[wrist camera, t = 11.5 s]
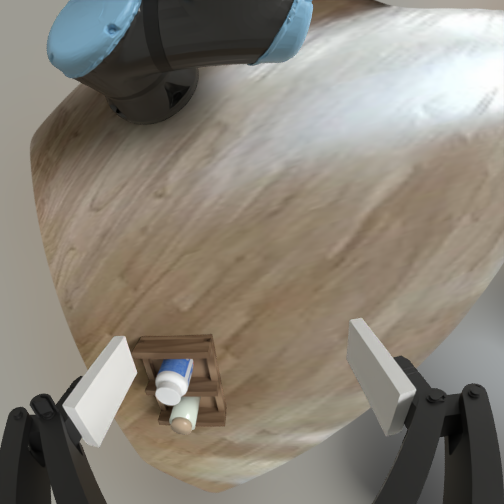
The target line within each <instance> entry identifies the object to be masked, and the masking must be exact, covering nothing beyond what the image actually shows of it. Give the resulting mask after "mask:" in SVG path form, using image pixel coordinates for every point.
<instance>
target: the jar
mask: <svg viewBox="0 0 504 504" xmlns="http://www.w3.org/2000/svg"><path fill="white" fill-rule="evenodd" d="M200 399H201V397H181V400H180V402H179V403H178V404H176V405H174V406H173V409H172V413H171V416H170V419H169V422H170V424H171V429H172V430H173V431H174V432H176V433H178V434H183V435H185V434H189V433H190V432H191V430H193V429H194V428H195V425H196V419H197V414H198V409H199V404H200Z"/></svg>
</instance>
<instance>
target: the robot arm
mask: <svg viewBox="0 0 504 504" xmlns="http://www.w3.org/2000/svg"><path fill="white" fill-rule="evenodd" d="M311 2H312V0H70V1H69V2H68V3H67V5H66V6H65V7H64V8H63V9H62V10H61V12H60V13H59V15H58V16H57V18H56V19H55V21H54V23H53V25H52V27H51V30H50V32H49V36H48V40H47V55H48V58H49V60H50V62H51V63H52V65H54V66H55V67H56V68H58V69H59V70H60V71H62V72H63V73H64V74H65V76H67V77H69V78H73V79H75V80H77V81H79V82H81V83H83V84H85V85H87V86H89V87H91V88H93V89H95V90H97V91H99V92H100V93H102V94H104V95H105V97H106V99H107V101H108V104H109V106H110V107H111V109H112V110H113V111H114V112H115V113H116V114H117V115H118V116H120V117H121V118H123V119H125V120H127V121H129V122H132V123H136V124H152V123H157V122H160V121H163V120H165V119H167V118H169V117H171V116H173V115H174V114H176V113H177V112H178V111H179V110H181V109H182V108H183V107H184V106H185V105H186V103H187V102H188V101H189V100H190V98H191V97H192V95H193V93H194V91H195V89H196V86H197V82H198V68H199V67H208V66H219V65H232V64H247V65H250V66H254V65H257V64H260V63H281V62H285V61H287V60H289V59H290V58H292V57H294V56H295V55H296V54H297V53H298V51H299V50H300V48H301V46H302V45H303V42H304V40H305V38H306V35H307V32H308V29H309V25H310V21H311V17H312V11H313V5H312V3H311ZM347 361H348V363H349V364H350V366H351V368H352V370H353V372H354V374H355V376H356V378H357V380H358V382H359V384H360V386H361V388H362V389H363V391H364V393H365V395H366V397H367V399H368V401H369V403H370V405H371V407H372V409H373V411H374V413H375V415H376V417H377V419H378V421H379V423H380V425H381V427H382V429H383V431H384V433H385V435H386V436H390V435H393V434H396V433H399V432H401V430H402V428H403V426H404V424H405V426H406V428H407V429H408V430H407V433H406V435H405V437H404V440H403V442H402V445H401V447H400V450H399V452H398V454H397V457H396V459H395V461H394V463H393V465H392V467H391V469H390V471H389V473H388V475H387V477H386V479H385V481H384V483H383V485H382V487H381V489H380V491H379V493H378V494H377V496H376V498H375V500H374V501H373V503H372V504H416V503H417V501H418V498H419V496H420V494H421V491H422V489H423V486H424V484H425V481H426V478H427V475H428V473H429V470H430V467H431V464H432V461H433V458H434V454H435V451H436V448H437V445H438V441H439V437H444V438H445V480H444V495H443V504H504V489H503V475H502V467H501V466H502V465H501V458H500V451H499V445H498V439H497V433H496V428H495V424H494V419H493V414H492V410H491V406H490V403H489V399H488V395H487V392H486V390H485V388H484V387H482V386H481V385H479V384H473V383H472V384H468V385H466V386H465V387H464V388H463V390H462V393H460V394H452V395H446V393H445V392H444V391H442V390H439V389H437V388H436V389H435V388H431V387H430V386H429V384H428V383H427V382H426V380H425V379H424V378H423V377H422V376H421V374H420V373H419V372H418V371H417V369H416V368H415V367H414V366H413V364H412V363H411V362H410V361H409V360H408V359H406V358H404V357H403V356H398V357H394V358H393V357H392V356H391V355H390V353H389V352H388V351H387V349H386V348H385V347H384V346H383V344H382V343H381V342H380V340H379V339H378V338H377V337H376V335H375V334H374V333H373V331H372V330H371V329H370V328H369V326H368V325H367V324H366V323H365V321H364V320H363V319H362V318H358V319H352V320H349V335H348V348H347ZM136 374H137V370H136V368H135V365H134V362H133V359H132V356H131V353H130V350H129V347H128V344H127V341H126V338H125V336H114V337H113V339H112V340H111V341H110V342H109V344H108V345H107V346H106V347H105V349H104V350H103V351H102V353H101V354H100V355H99V356H98V358H97V359H96V360H95V362H94V363H93V364H92V365H91V367H90V368H89V369H88V371H87V372H86V374H85V375H84V376H80V377H78V378H77V379H76V380H75V381H73V383H72V384H71V385H70V388H68V389H67V391H66V392H65V393H64V395H63V396H62V397H61V399H60V400H59V401H58V403H57V404H56V405H55V403H54V401H53V400H52V398H51V396H50V395H48V394H39V395H37V396H35V397H34V398H33V399H32V400H31V402H30V406H31V408H32V409H33V411H34V413H35V414H36V415H29V413H28V412H27V410H26V409H25V408H23V407H18V408H15V409H13V410H12V411H11V412H10V413H9V416H8V419H7V423H6V427H5V431H4V435H3V439H2V443H1V448H0V504H51V487H52V490H53V494H54V497H55V500H56V503H57V504H107V503H106V501H105V499H104V497H103V495H102V493H101V491H100V488H99V486H98V484H97V482H96V480H95V477H94V475H93V473H92V470H91V468H90V465H89V463H88V460H87V458H86V455H85V453H84V450H83V447H82V445H81V443H80V442H79V441H80V440H81V438H83V439H84V441H85V442H86V444H88V445H92V446H96V447H100V445H101V443H102V441H103V439H104V437H105V435H106V433H107V431H108V429H109V427H110V424H111V423H112V420H113V419H114V417H115V415H116V413H117V411H118V409H119V407H120V405H121V403H122V401H123V399H124V397H125V395H126V393H127V391H128V389H129V387H130V385H131V383H132V382H133V380H134V378H135V376H136Z"/></svg>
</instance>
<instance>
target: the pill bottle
mask: <svg viewBox="0 0 504 504" xmlns="http://www.w3.org/2000/svg"><path fill="white" fill-rule="evenodd" d="M193 366H194V363H193V359H164V360H163V363H162V365H161V367H160V370H159V372H158V374H157V377H156V381H155V382H156V387H157V389H156V393H155V395H156V397H157V399H158V400H159V401H160V402H162V403H163V404H166V405H176V404H178V403H179V402H180V400H181V397H182V396H183V395H185V394H186V392H187V390H188V386H189V382H190V379H191V375H192V371H193Z"/></svg>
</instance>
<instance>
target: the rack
mask: <svg viewBox="0 0 504 504" xmlns="http://www.w3.org/2000/svg"><path fill="white" fill-rule="evenodd" d="M131 353H132V356H133V359H142V360H143V363H144V366H145V369H146V372H147V375H148V378H149V383H148V385H147V387H146V389H145V392H146V394H147V395H153V396H155V397H156V395H155V393H156V389H157V387H156V382H155V381H156V377H157V374H158V372H159V370H160V367H161V365H162V363H163V360H164V359H193V363H194V366H193V371H192V375H191V379H190V382H189V386H188V390H187V392H186V394H185V395H183V396H182V397H201V399H200V404H199V409H198V414H197V419H196V425H195V426H225V420H226V408H227V407H226V402H225V398H224V393H223V388H222V383H221V378H220V373H219V368H218V363H217V358H216V353H215V347H214V342H213V336H212V334H209V335H186V336H142V337H141V338H140V340H139V341H138V343H137V345H136V346H135V348H134V349H133V351H132V352H131ZM156 399H157V397H156ZM157 402H158V404H159V407H160V409H161V413H160V416H159V419H158V422H159V425H171V424H170V422H169V419H170V416H171V413H172V409H173V406H174V405H166V404H163V403H162V402H160V401H159V400H158V399H157Z"/></svg>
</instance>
